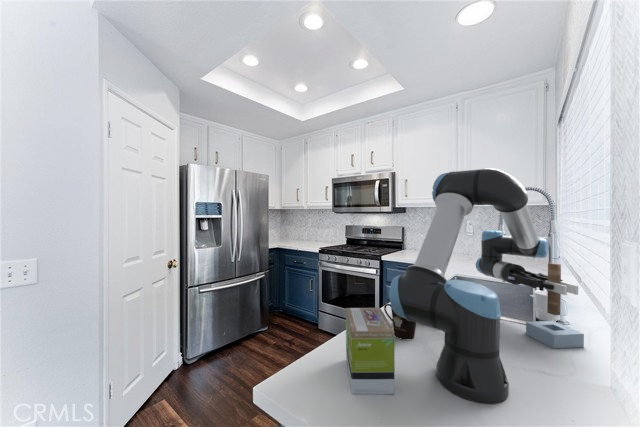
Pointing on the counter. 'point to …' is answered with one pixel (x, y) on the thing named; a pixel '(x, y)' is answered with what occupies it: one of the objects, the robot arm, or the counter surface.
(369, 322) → the tea box
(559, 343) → the socket block
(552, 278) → the dowel
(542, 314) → the white cup
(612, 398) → the counter surface
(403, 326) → the coffee mug
